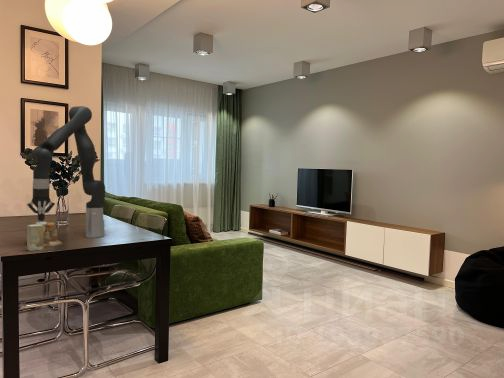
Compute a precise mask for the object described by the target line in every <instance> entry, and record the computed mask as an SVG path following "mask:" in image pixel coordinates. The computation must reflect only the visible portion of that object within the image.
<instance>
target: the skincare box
mask: <svg viewBox="0 0 504 378" xmlns="http://www.w3.org/2000/svg"><path fill="white" fill-rule="evenodd" d="M43 236H44V225H41V224H38V225H32V224H27V227H26V240H27V242H26V250H27V251H29V252H32V251H43V250H44V247H43Z"/></svg>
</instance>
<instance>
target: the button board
mask: <svg viewBox="0 0 504 378" xmlns="http://www.w3.org/2000/svg"><path fill="white" fill-rule="evenodd" d="M25 241H26V243H27V239H26V240H25ZM53 246H63V242H62V241H60V240H59V239H58V229H56V228H54V227H53V230H49V231H46V228H45V232H44V236H43V248H44V247H53Z"/></svg>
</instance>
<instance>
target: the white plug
mask: <svg viewBox="0 0 504 378" xmlns="http://www.w3.org/2000/svg"><path fill="white" fill-rule="evenodd" d="M47 223H48V222H47V221H45V220H43V221H35V224H36V225H38V224H41V225H44V232H45V229H46V226H45V225H46V224H47Z"/></svg>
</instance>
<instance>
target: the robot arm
mask: <svg viewBox="0 0 504 378" xmlns="http://www.w3.org/2000/svg"><path fill="white" fill-rule="evenodd" d="M92 116H93V113H92V110H91V109H90V108H89V107H87V106H84V105H82V106H80V105H79V106H72V107H71V108H70V109H69V111H68V118H69V121H68V122H67V123H65V124H64V125H62V126H60V127H58V128H57V129H56V130H54V131H53V132H52V133H50V135H49V136H48V137H47V138H46V139H45V140H44V141H43V142H41V143H40V144H38V145H37V146H36V147H35V148H33V150H32V151H31V154H30V158H31V159H32V161H34V162H36V166H35V167H34V168H33V170H32V173H33V174H32V178H33V179H32V197H31V198H32V199H31V200H30V201H29V202H27V204H26V206H27V207H28V208H29V209H30V210H31V211H32V212H33V213H34V214H37V221H38V222H41V221H45V219H46V217H45V214H47V213H49V212H50V211H51V209H53V208H54V206H56V205H55V204H56V203H55V202H53V201H52V200H51V198H50V187H51V186H50V167H51V163H52V159H53V158H52V152H54V151H57V150H58V149H59V148H60V147H61V146H62V145H63V144H64V143H65V142H66V141H67V140H68V139H69V138H70V137H71V136H72V135H73V134H74V135H73V137H74V139H75V144H76V152H77V156H78V160H79V165H80V166H79V167H80V171H81V179H82V180H81V181H82V183H81V184H82V188H83V189H82V190H83V193H84V194H86V195H88V196H91V199H90V200H88V201H87V202H86V203H85V208H86V209H85V238H87V239H88V238H89V239H90V238H91V239H92V238H93V239H97V238H101V237H105V220H104V204H105V199H106V184H105V183H104V181H102V180H98V179H97V180H96V179H95V177H94V166H95V164H96V161H97V153H96V148H95V144H94V143H93V140H92V139H91V137H90V136H89V134H88V132H87V130H86V124H87V123H89V122H90V121H91V119H92ZM34 206H35V208H34ZM46 207H47V208H46Z"/></svg>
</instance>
